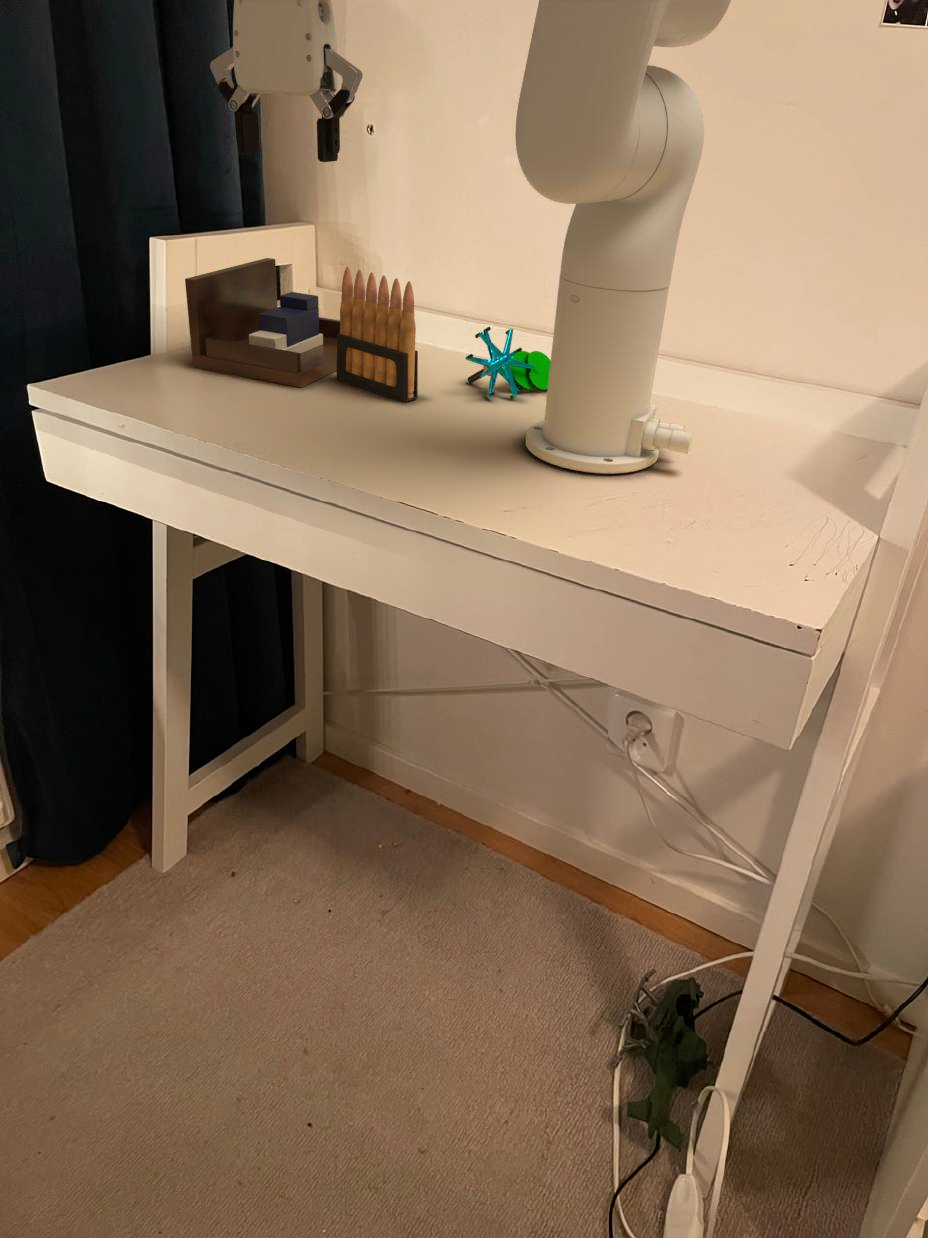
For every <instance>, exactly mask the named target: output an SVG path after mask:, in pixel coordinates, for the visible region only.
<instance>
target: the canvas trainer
mask: <svg viewBox="0 0 928 1238" xmlns="http://www.w3.org/2000/svg"><path fill="white" fill-rule="evenodd" d="M319 307H320V306H319V296H318V295H316V294H309V293H301V292H295V291H290V292H287V293H284V294H280V295H279V306H277V308H274V309H271V310H268V311H265V312H262V313H259V329H260V331H257V332H255V333H252V334H249V344H252V345H258V346H264V347H269V348H275V349H280V350H286V351H292V352H297V353H303V352H306V351H308V350H310V349H313V348H315V347H317V346H320V345H322V344H323V334H320V333H319V317H320V309H319Z"/></svg>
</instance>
